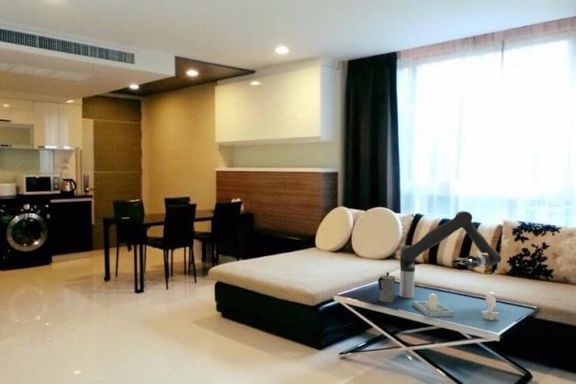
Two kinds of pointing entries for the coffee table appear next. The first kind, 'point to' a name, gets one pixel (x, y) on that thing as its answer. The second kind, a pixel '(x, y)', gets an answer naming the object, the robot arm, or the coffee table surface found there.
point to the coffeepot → (386, 288)
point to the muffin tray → (440, 312)
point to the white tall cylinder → (432, 303)
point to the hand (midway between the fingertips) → (459, 263)
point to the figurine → (490, 307)
